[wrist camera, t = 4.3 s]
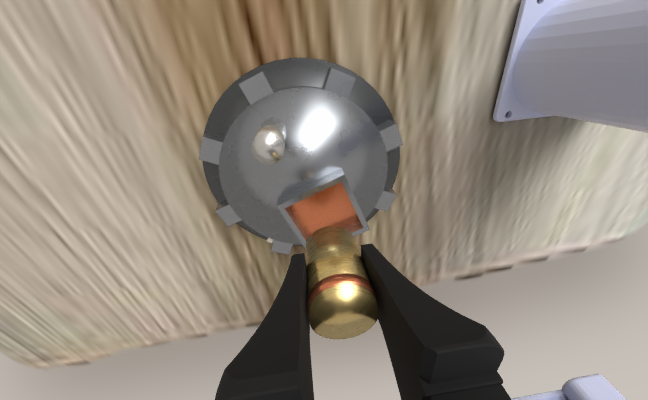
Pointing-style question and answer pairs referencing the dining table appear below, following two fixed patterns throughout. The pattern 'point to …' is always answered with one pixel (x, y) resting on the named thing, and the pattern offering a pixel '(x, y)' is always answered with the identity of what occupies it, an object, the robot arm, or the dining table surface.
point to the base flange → (289, 76)
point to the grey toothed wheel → (302, 161)
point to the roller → (338, 285)
